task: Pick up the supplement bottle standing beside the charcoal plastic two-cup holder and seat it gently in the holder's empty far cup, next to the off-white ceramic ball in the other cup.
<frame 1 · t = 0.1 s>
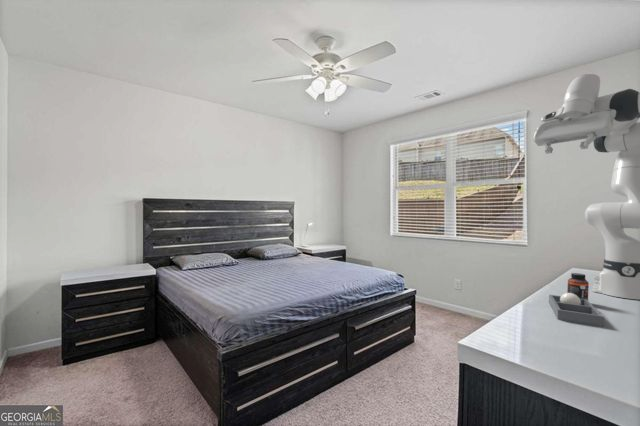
hand: (565, 150, 97), 54 cm above the dresser top, tool tilted 30°, fingers open, 8 cm apart
cup holder: (572, 315, 100), on the dresser top
supplement bottle: (577, 304, 112), on the dresser top
ceramic ball: (569, 309, 104), point 1 cm above the dresser top, touching cup holder
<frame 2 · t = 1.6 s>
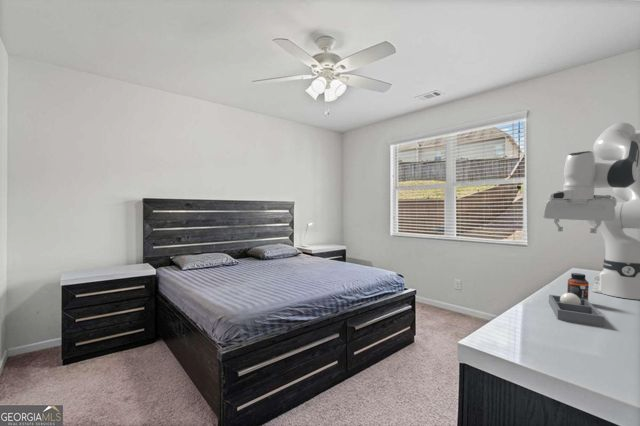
hand: (576, 232, 111), 27 cm above the dresser top, tool pointing down, fingers open, 8 cm apart
nothing on the dresser top moved.
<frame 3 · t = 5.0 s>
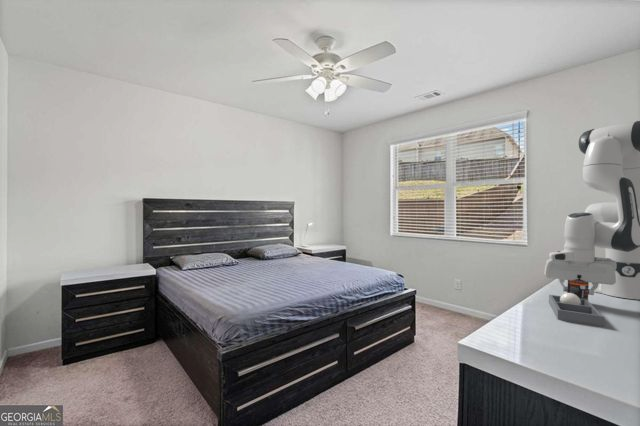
hand: (577, 292, 112), 4 cm above the dresser top, tool pointing down, fingers closed on supplement bottle, 6 cm apart
supplement bottle: (577, 304, 112), on the dresser top, touching gripper
everything else where it was.
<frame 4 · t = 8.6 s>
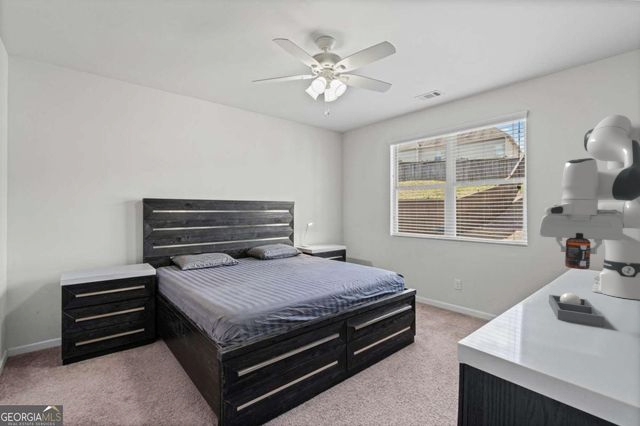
hand: (577, 252, 95), 21 cm above the dresser top, tool pointing down, fingers closed on supplement bottle, 6 cm apart
supplement bottle: (577, 268, 95), point 16 cm above the dresser top, touching gripper
everything else where it was.
when the fingers open (6 cm above the dresser top, at t = 12.5 s): supplement bottle stays where it is, resting on cup holder.
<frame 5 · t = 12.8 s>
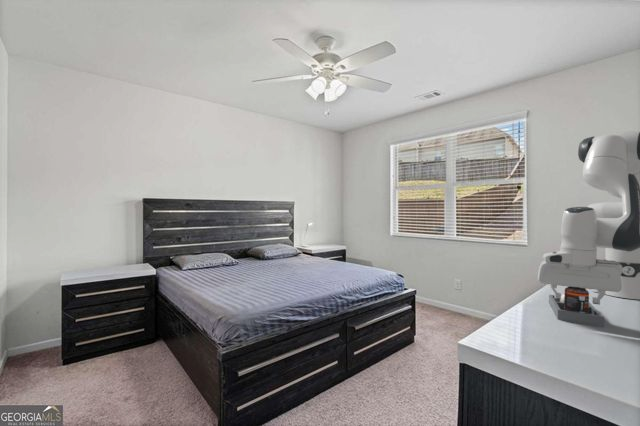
hand: (576, 301, 95), 6 cm above the dresser top, tool pointing down, fingers open, 8 cm apart
supplement bottle: (575, 318, 96), resting on cup holder
everything else where it was.
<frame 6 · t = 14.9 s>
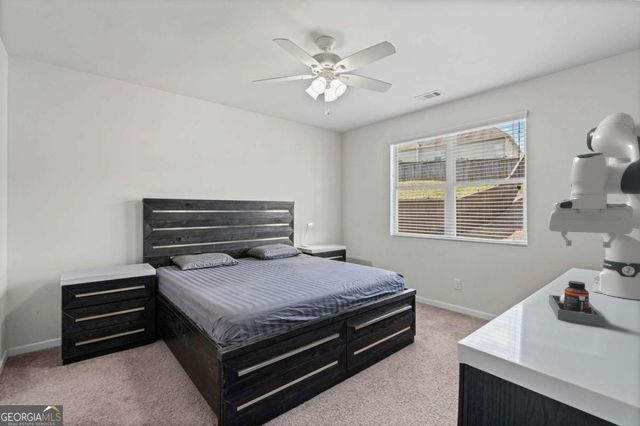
hand: (587, 246, 97), 23 cm above the dresser top, tool pointing down, fingers open, 8 cm apart
nothing on the dresser top moved.
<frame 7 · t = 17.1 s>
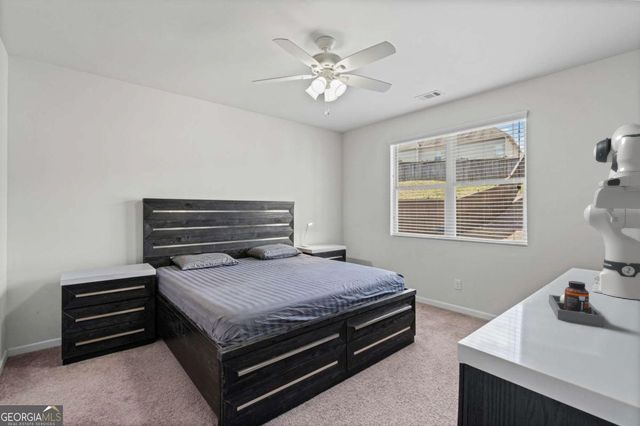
hand: (633, 222, 101), 31 cm above the dresser top, tool pointing down, fingers open, 8 cm apart
nothing on the dresser top moved.
at the end: supplement bottle 0.3 cm from the target spot on the cup holder, point 0.4 cm above the cup holder's base; supplement bottle tilted 0°; the gripper is holding nothing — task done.
